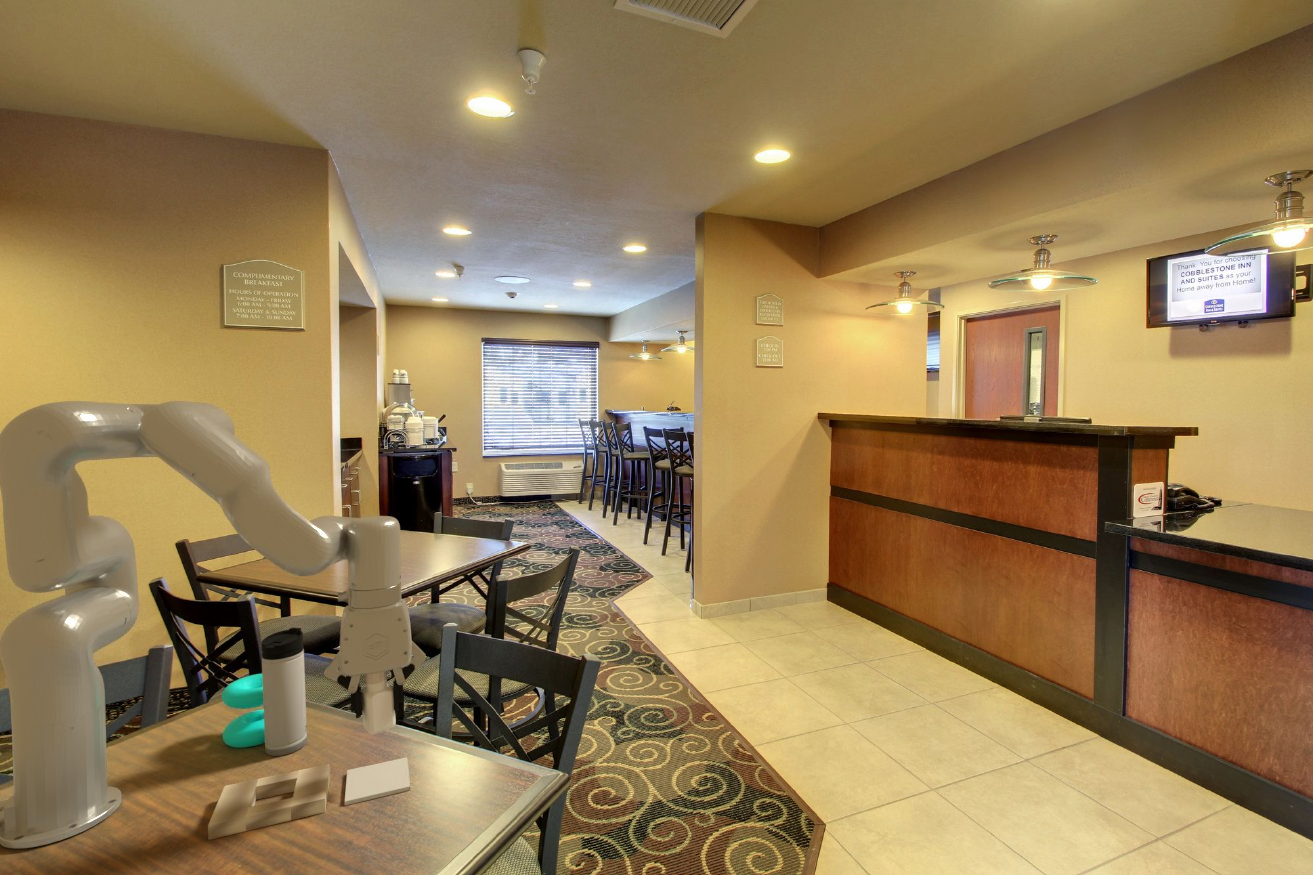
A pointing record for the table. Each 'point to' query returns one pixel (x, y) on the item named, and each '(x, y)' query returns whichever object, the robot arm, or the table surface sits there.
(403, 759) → the beige mat
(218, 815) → the socket block
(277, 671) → the travel mug
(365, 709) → the pepper shaker
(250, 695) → the donuts
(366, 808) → the table surface
